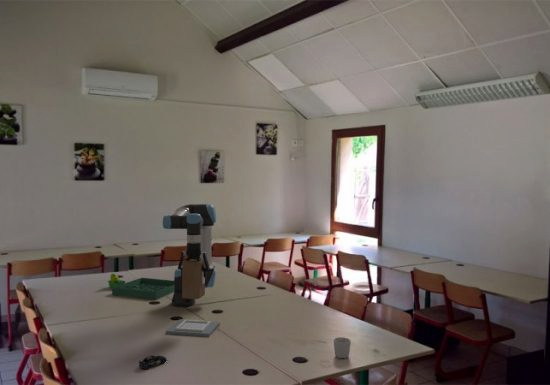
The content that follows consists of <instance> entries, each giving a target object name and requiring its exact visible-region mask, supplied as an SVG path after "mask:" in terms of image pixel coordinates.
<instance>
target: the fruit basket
mask: <svg viewBox="0 0 550 385" xmlns="http://www.w3.org/2000/svg"><path fill="white" fill-rule="evenodd" d="M109 278H110V280H107V284H108V285H109V288H110V287H111V288H110V289H112V287H115V286H118V285H121V284H124V283H126V280H122V279H119V276H118V275H116V274H115V273H111V274H110V276H109Z"/></svg>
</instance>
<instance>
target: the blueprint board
mask: <svg viewBox="0 0 550 385" xmlns="http://www.w3.org/2000/svg"><path fill="white" fill-rule="evenodd" d="M220 326H221V322H220V321H210V320H198V319H197V320H196V319H178V320H177V321H175V322H174V323H173V324H172V325H171V326H170V327H168V328H167V329H166V330H165V334H167V335H178V336H179V335H181V336H183V335H184V336H196V337H211V335H212V334H213V333H214V332H215V331H216V330H217V329H218V328H219V327H220Z"/></svg>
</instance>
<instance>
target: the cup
mask: <svg viewBox="0 0 550 385" xmlns="http://www.w3.org/2000/svg"><path fill="white" fill-rule="evenodd" d="M351 342H352V341H351V339H350V338H348V337H343V336H342V337H341V336H340V337H335V338H333V347H334V348H333V349H334V355H335V357H336V356H337V357H336V358H338V357H339V358H338V359H342V358H344V359H347V358H349V356H350V352H351ZM346 357H347V358H346Z"/></svg>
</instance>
